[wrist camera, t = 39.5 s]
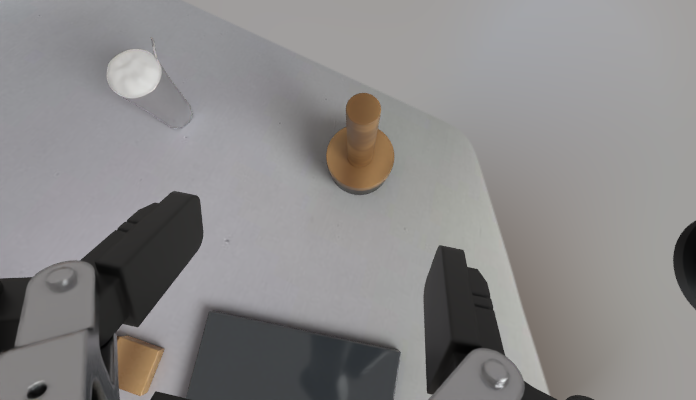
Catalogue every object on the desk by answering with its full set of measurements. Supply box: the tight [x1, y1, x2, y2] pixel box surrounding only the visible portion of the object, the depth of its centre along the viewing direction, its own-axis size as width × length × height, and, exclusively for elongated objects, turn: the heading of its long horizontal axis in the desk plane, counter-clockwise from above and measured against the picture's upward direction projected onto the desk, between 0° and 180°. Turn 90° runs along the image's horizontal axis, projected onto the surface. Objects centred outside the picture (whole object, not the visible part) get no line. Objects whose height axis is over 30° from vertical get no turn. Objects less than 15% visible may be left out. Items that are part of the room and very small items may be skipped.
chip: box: [117, 335, 164, 396], centre depth 33 cm, size 4×4×1 cm
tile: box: [186, 311, 401, 400], centre depth 32 cm, size 18×10×1 cm, turn 79°
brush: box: [326, 93, 394, 195], centre depth 31 cm, size 6×6×13 cm
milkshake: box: [107, 37, 193, 128], centre depth 34 cm, size 5×5×10 cm
